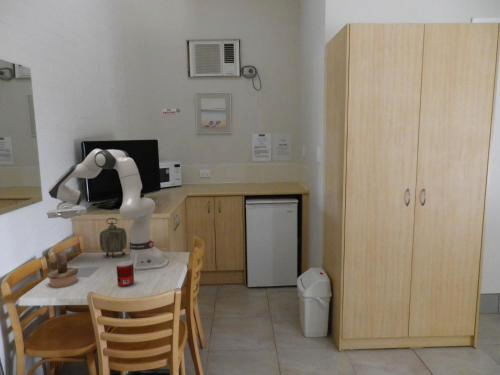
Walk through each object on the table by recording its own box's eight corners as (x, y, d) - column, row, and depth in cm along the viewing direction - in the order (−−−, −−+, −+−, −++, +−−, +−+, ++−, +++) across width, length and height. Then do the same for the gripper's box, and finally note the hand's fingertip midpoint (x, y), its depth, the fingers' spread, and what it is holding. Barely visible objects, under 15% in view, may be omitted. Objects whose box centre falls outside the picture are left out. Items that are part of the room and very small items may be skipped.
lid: (82, 268, 192) (80, 248, 191) (70, 278, 178) (68, 256, 177) (55, 269, 192) (54, 249, 191) (41, 279, 178) (39, 257, 177)
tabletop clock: (127, 254, 234) (125, 216, 231) (123, 258, 225) (120, 219, 222) (105, 254, 234) (102, 216, 231) (99, 259, 225) (96, 219, 222)
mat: (100, 267, 209) (100, 266, 209) (88, 277, 193) (88, 276, 193) (72, 268, 208) (71, 267, 208) (58, 278, 192) (58, 277, 192)
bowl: (80, 278, 192) (79, 269, 191) (70, 287, 180) (69, 277, 179) (57, 279, 191) (56, 270, 191) (45, 288, 180) (44, 278, 179)
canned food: (137, 282, 185) (136, 261, 184) (126, 288, 178) (124, 266, 176) (126, 280, 188) (124, 259, 187) (114, 285, 181) (113, 264, 180)
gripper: (45, 207, 209) (47, 211, 197) (84, 204, 219) (87, 207, 208) (46, 218, 209) (48, 222, 198) (84, 214, 220) (88, 217, 209)
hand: (68, 214), depth 203 cm, fingers open, 8 cm apart
